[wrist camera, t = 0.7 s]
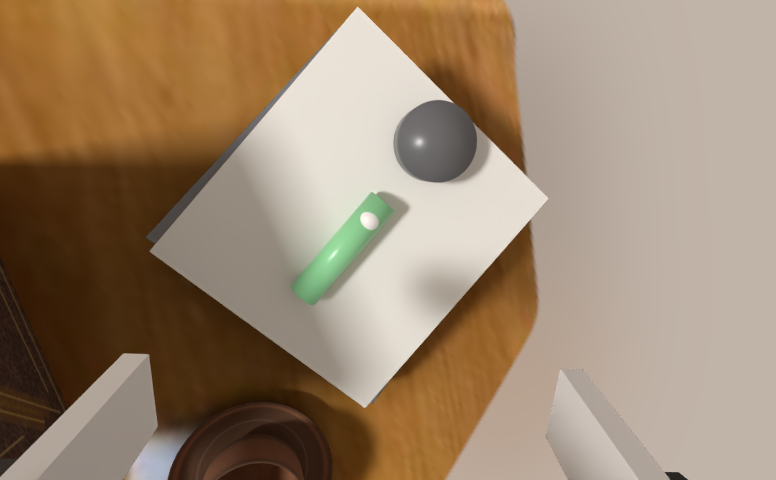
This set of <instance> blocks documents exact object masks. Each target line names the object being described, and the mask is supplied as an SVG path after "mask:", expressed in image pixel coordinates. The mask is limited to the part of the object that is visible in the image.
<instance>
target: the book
mask: <svg viewBox="0 0 776 480" xmlns="http://www.w3.org/2000/svg"><path fill="white" fill-rule="evenodd" d="M67 410H68V408H67V406H66V404H65V402H64V400H63V397H62V395H61V393H60V391H59V388H58V386H57V384H56V382H55V379H54V377H53V375H52V373H51V370H50V368H49V366H48V364H47V361H46V359H45V357H44V355H43V352H42V350H41V348H40V346H39V344H38V341H37V339H36V337H35V335H34V332H33V330H32V328H31V326H30V323H29V321H28V319H27V317H26V314H25V312H24V310H23V308H22V305H21V303H20V301H19V299H18V296H17V294H16V292H15V290H14V288H13V285H12V283H11V281H10V279H9V276H8V274H7V272H6V270H5V267H4V265H3V263H2V261H1V258H0V460H2V459H19V458H20V457H21V456H22V455H23V454H24V453H25V452H26V451H27V450H28V449H29V448H30V447H31V446H32V445H33V444H34V443H35V442H36V441H37V440H38V439H39V438H40V437H41V436H42V435H43V434H44V433H45V432H46V431H47V430H48V429H49V428H50V427H51V426H52V425H53V424H54V423H55V422H56V421H57V420H58V419H59V418H60V417H61V416H62V415H63V414H64V413H65V412H66V411H67Z"/></svg>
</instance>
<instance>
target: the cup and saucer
mask: <svg viewBox="0 0 776 480" xmlns="http://www.w3.org/2000/svg"><path fill="white" fill-rule="evenodd" d="M168 480H332V459H331V453H330V449H329V446H328V444H327V441H326V439H325V437H324V435H323V434H322V432H321V431H320V429H319V428H318V427H317V425H316V424H315V423H314V422H313V421H312V420H311V419H310V418H308V417H307V416H306V415H305V414H303V413H302V412H300V411H298V410H296V409H294V408H292V407H290V406H287V405H284V404H280V403H275V402H265V401H261V402H249V403H244V404H240V405H236V406H233V407H231V408H228V409H226V410H223V411H222V412H220V413H218V414H216V415H214V416H213V417H211V418H210V419H208V420H207V421H206V422H204V423H203V424H202V425H201V426H200V427H198V428H197V429H196V430H195V431H194V432H193V433H192V434H191V436H190V437H189V438H188V439H187V440H186V442H185V443H184V444H183V445H182V447H181V449H180V450H179V452H178V453H177V455H176V457H175V459H174V461H173V464H172V466H171V469H170V472H169V476H168Z"/></svg>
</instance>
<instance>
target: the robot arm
mask: <svg viewBox="0 0 776 480" xmlns="http://www.w3.org/2000/svg"><path fill="white" fill-rule="evenodd" d="M157 427H158V423H157V415H156V407H155V399H154V391H153V383H152V375H151V368H150V360H149V354H127V353H123V354H122V355H121V356H120V357H119V358H118V359H117V360H116V361H115V362H114V363H113V364H112V365H111V366H110V367H109V368H108V369H107V370H106V371H105V372H104V373H103V374H102V375H101V376H100V377H99V378H98V379H97V380H96V381H95V382H94V383H93V384H92V385H91V386H90V387H89V388H88V389H87V390H86V391H85V393H84V394H83V395H82V396H81V397H80V398H79V399H78V400H77V401H76V402H75V403H74V404H73V405H72V406H71V407H70V408H69V409H68V410H67V411H66V412H65V413H64V414H63V415H62V416H61V417H60V418H59V419H58V420H57V421H56V422H55V423H54V424H53V425H52V426H51V427H50V428H49V429H48V430H47V431H46V432H45V433H44V434H43V435H42V436H41V437H40V438H39V439H38V440H37V441H36V442H35V443H34V444H33V445H32V446H31V447H30V448H29V449H28V450H27V451H26V452H25V453H24V454H23V455H22V456H21V457H20V458H19V459H2V460H0V480H123V478H124V477H125V475H126V474H127V472H128V471H129V469H130V468H131V466H132V465H133V463H134V462H135V460H136V459H137V457H138V456H139V454H140V453H141V451H142V450H143V448H144V447H145V445H146V444H147V442H148V441H149V439H150V438H151V436H152V435H153V433H154V432H155V430H156V429H157ZM546 438H547V440H548V442H549V444H550V446H551V448H552V450H553V452H554V454H555V456H556V458H557V460H558V462H559V464H560V465H561V467H562V469H563V471H564V473H565V475H566V477H567V479H568V480H687V479H686V478H685V477H684V476H683V475H681V474H680V473H678V472H664V471H663V470H662V469H661V467H660V466H659V465H658V464H657V462H656V461H655V460H654V458H653V457H652V456H651V455H650V453H649V452H648V451H647V450H646V448H645V447H644V446H643V444H642V443H641V442H640V441H639V439H638V438H637V437H636V436H635V434H634V433H633V432H632V430H631V429H630V428H629V427H628V426H627V424H626V423H625V422H624V420H623V419H622V418H621V417H620V415H619V414H618V413H617V412H616V410H615V409H614V408H613V406H612V405H611V404H610V403H609V401H608V400H607V399H606V398H605V396H604V395H603V394H602V392H601V391H600V390H599V389H598V387H597V386H596V385H595V384H594V382H593V381H592V380H591V379H590V377H589V376H588V375H587V373H586V372H585V371H584V370H583V369H560V373H559V378H558V382H557V387H556V392H555V396H554V401H553V405H552V410H551V415H550V419H549V424H548V429H547V433H546Z"/></svg>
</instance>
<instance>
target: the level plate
mask: <svg viewBox="0 0 776 480" xmlns="http://www.w3.org/2000/svg"><path fill="white" fill-rule="evenodd" d="M547 200H548V197H547V196H546V195H545V194H544V193H543V192H542V191H541V190H540V189H539V188H538V187H537V186H536V185H535V184H534V183H533V182H532V181H531V180H530V179H529V178H528V177H527V176H526V175H525V174H524V173H523V172H522V171H521V170H520V169H519V168H518V167H517V166H516V165H515V164H514V163H513V162H512V161H511V160H510V159H509V158H508V157H507V156H506V155H505V154H504V153H503V152H502V151H501V150H500V149H499V148H498V147H497V146H496V145H495V144H494V143H493V142H492V141H491V140H490V139H489V138H488V137H487V136H486V135H485V134H484V133H483V132H482V131H481V130H480V129H479V128H478V127H477V126H476V125H475V124H474V123H473V122H472V120H471V118H470V117H469V115H468V114H467V113H466V112H465V111H464V110H463V109H462V108H461V107H459V106H458V105H456V104H454V103H453V102H452V101H451V100H450V99H449V98H448V97H447V96H446V95H445V94H444V93H443V92H442V91H441V90H440V89H439V88H438V87H437V86H436V85H435V84H434V83H433V82H432V81H431V80H430V79H429V78H428V77H427V76H426V75H425V74H424V73H423V72H422V71H421V70H420V69H419V68H418V67H417V66H416V65H415V64H414V63H413V62H412V61H411V60H410V59H409V58H408V57H407V56H406V55H405V54H404V53H403V52H402V51H401V50H400V49H399V48H398V47H397V46H396V45H395V44H394V43H393V42H392V41H391V40H390V39H389V38H388V37H387V36H386V35H385V34H384V33H383V32H382V31H381V30H380V29H379V28H378V27H377V26H376V25H375V24H374V23H373V22H372V20H371V19H370V18H369V17H368V16H367V15H366V14H365V13H364V12H363V11H362V10H361V9H360V8H359V7H357V8H356V9H355V10H354V12H353V13H352V14H351V15H350V16H349V17H348V19H347V20H346V21H345V22H344V23H343V25H342V26H341V27H340V28H339V29H338V30H337V32H336V33H335V34H334V35H333V36H332V37H331V39H330V40H329V41H328V42H327V43H326V44H325V46H324V47H323V48H322V49H321V50H320V52H319V53H318V54H317V55H316V56H315V57H314V59H313V60H312V61H311V62H310V63H309V64H308V66H307V67H306V68H305V69H304V70H303V72H302V73H301V74H300V75H299V76H298V77H297V79H296V80H295V81H294V82H293V83H292V84H291V86H290V87H289V88H288V89H287V90H286V91H285V93H284V94H283V95H282V96H281V97H280V99H279V100H278V101H277V102H276V103H275V104H274V106H273V107H272V108H271V109H270V110H269V111H268V113H267V114H266V115H265V116H264V117H263V118H262V120H261V121H260V122H259V123H258V124H257V126H256V127H255V128H254V129H253V130H252V131H251V133H250V134H249V135H248V136H247V137H246V138H245V140H244V141H243V142H242V143H241V144H240V145H239V147H238V148H237V149H236V150H235V151H234V153H233V154H232V155H231V156H230V157H229V158H228V160H227V161H226V162H225V163H224V164H223V165H222V167H221V168H220V169H219V170H218V171H217V172H216V174H215V175H214V176H213V177H212V178H211V180H210V181H209V182H208V183H207V184H206V185H205V187H204V188H203V189H202V190H201V191H200V192H199V194H198V195H197V196H196V197H195V198H194V199H193V201H192V202H191V203H190V204H189V205H188V207H187V208H186V209H185V210H184V211H183V212H182V214H181V215H180V216H179V217H178V218H177V219H176V221H175V222H174V223H173V224H172V225H171V227H170V228H169V229H168V230H167V231H166V232H165V234H164V235H163V236H162V237H161V238H160V239H159V241H158V242H157V243H156V244H155V245H154V246H153V248H152V249H151V250H150V251H149V252H151V253H152V254H153V255H155V256H156V257H157V258H159V259H160V260H162V261H163V262H164V263H166V264H167V265H168V266H170V267H171V268H173V269H174V270H175V271H177V272H178V273H180V274H181V275H182V276H184V277H185V278H186V279H188V280H189V281H191V282H192V283H193V284H195V285H196V286H197V287H199V288H200V289H202V290H203V291H204V292H206V293H207V294H208V295H210V296H211V297H213V298H214V299H215V300H217V301H218V302H219V303H221V304H222V305H224V306H225V307H226V308H228V309H229V310H231V311H232V312H233V313H235V314H236V315H237V316H239V317H240V318H242V319H243V320H244V321H246V322H247V323H248V324H250V325H251V326H253V327H254V328H255V329H257V330H258V331H259V332H261V333H262V334H264V335H265V336H266V337H268V338H269V339H270V340H272V341H273V342H275V343H276V344H277V345H279V346H280V347H281V348H283V349H284V350H286V351H287V352H288V353H290V354H291V355H293V356H294V357H295V358H297V359H298V360H299V361H301V362H302V363H304V364H305V365H306V366H308V367H309V368H310V369H312V370H313V371H315V372H316V373H317V374H319V375H320V376H321V377H323V378H324V379H326V380H327V381H328V382H330V383H331V384H332V385H334V386H335V387H337V388H338V389H339V390H341V391H342V392H343V393H345V394H346V395H348V396H349V397H350V398H352V399H353V400H355V401H356V402H357V403H359V404H360V405H361V406H363V407H364V408H366V406H367V405H368V404H369V403H370V402H371V401H372V400H373V398H374V397H375V396H376V395H377V394H378V393H379V392H380V390H381V389H382V388H383V387H384V386H385V385H386V384H387V382H388V381H389V380H390V379H391V378H392V377H393V376H394V374H395V373H396V372H397V371H398V370H399V369H400V368H401V366H402V365H403V364H404V363H405V362H406V361H407V360H408V358H409V357H410V356H411V355H412V354H413V353H414V352H415V350H416V349H417V348H418V347H419V346H420V345H421V344H422V342H423V341H424V340H425V339H426V338H427V337H428V336H429V334H430V333H431V332H432V331H433V330H434V329H435V328H436V326H437V325H438V324H439V323H440V322H441V321H442V320H443V318H444V317H445V316H446V315H447V314H448V313H449V312H450V311H451V309H452V308H453V307H454V306H455V305H456V304H457V303H458V301H459V300H460V299H461V298H462V297H463V296H464V295H465V293H466V292H467V291H468V290H469V289H470V288H471V287H472V285H473V284H474V283H475V282H476V281H477V280H478V279H479V277H480V276H481V275H482V274H483V273H484V272H485V271H486V269H487V268H488V267H489V266H490V265H491V264H492V263H493V261H494V260H495V259H496V258H497V257H498V256H499V255H500V253H501V252H502V251H503V250H504V249H505V248H506V247H507V245H508V244H509V243H510V242H511V241H512V240H513V239H514V237H515V236H516V235H517V234H518V233H519V232H520V231H521V229H522V228H523V227H524V226H525V225H526V224H527V223H528V221H529V220H530V219H531V218H532V217H533V216H534V215H535V213H536V212H537V211H538V210H539V209H540V208H541V206H542V205H543V204H544V203H545V202H546V201H547Z"/></svg>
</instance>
